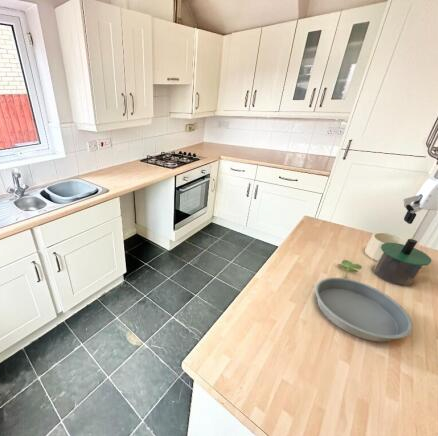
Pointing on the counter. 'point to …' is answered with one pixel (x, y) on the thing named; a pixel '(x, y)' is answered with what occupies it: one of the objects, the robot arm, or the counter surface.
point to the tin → (378, 239)
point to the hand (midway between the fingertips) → (424, 223)
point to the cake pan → (362, 310)
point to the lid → (406, 253)
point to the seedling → (350, 266)
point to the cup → (395, 270)
